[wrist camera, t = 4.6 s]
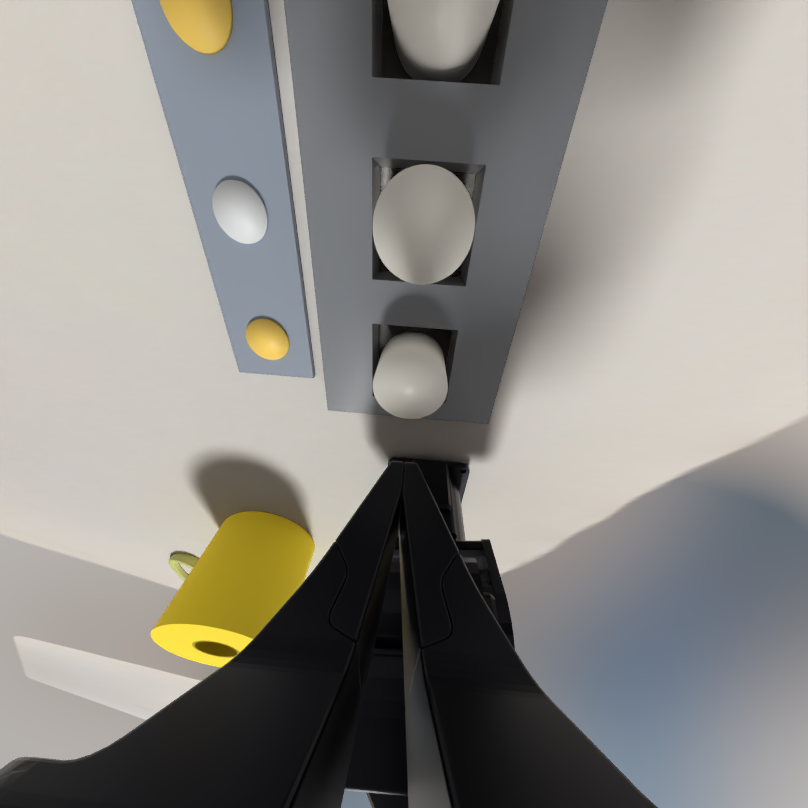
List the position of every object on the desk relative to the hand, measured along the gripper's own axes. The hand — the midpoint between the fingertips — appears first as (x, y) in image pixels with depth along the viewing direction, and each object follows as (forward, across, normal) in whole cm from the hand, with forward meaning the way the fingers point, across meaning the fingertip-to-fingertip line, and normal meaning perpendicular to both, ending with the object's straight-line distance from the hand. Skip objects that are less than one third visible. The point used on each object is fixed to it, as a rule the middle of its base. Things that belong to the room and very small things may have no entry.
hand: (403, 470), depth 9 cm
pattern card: (+10, +9, -7) cm, 15 cm away
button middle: (+8, 0, -7) cm, 11 cm away
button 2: (+8, 0, 0) cm, 8 cm away
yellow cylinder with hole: (+11, +14, +23) cm, 29 cm away
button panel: (+10, 0, -7) cm, 12 cm away
